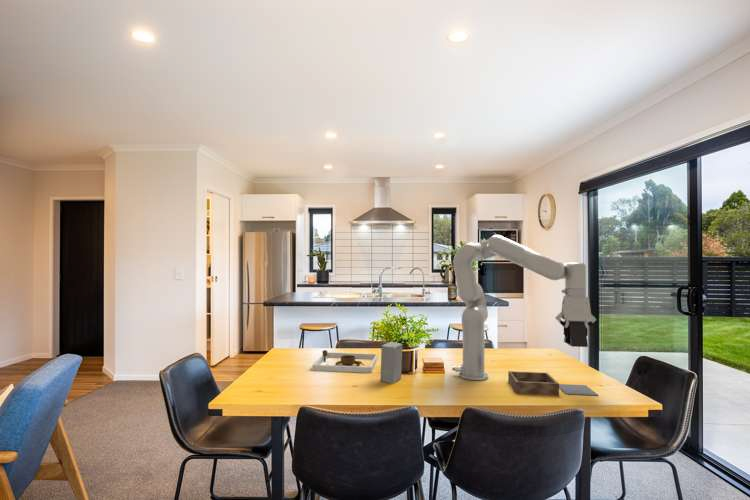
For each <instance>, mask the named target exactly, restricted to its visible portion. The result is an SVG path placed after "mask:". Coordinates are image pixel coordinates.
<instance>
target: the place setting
mask: <svg viewBox="0 0 750 500" xmlns="http://www.w3.org/2000/svg"><path fill="white" fill-rule="evenodd" d="M327 352H328V350H322V355H323V356H324V361H323V362H324V363H326V362H327V358H326V357H325V356H327ZM335 365H337V366H341V365H342V366H360V365H363V366H365V363H363V362H362V361H360V360H356V359H355V356H352V355H344V356H341V358H340V360H338V361H336V362H335Z"/></svg>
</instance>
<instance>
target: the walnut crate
mask: <svg viewBox="0 0 750 500" xmlns="http://www.w3.org/2000/svg"><path fill="white" fill-rule="evenodd" d="M507 373H508V375H507V376H508V380H507V382H508V384H509V385H510V386H511V388H512V389H513V391H514V392H515V394H517V393H518V395H519V394H521V395H538V394H540V396H542V395H543V396H560V388H559V384H560V383H559V381H557V380H556V379H555V378H553V376H551V375H550V374H549V372H537V371H534V372H533V371H511V370H510V371H508V372H507Z"/></svg>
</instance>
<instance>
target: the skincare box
mask: <svg viewBox="0 0 750 500" xmlns="http://www.w3.org/2000/svg"><path fill="white" fill-rule="evenodd" d="M402 361H403V343H399V342H395V341H389V342H387V343H385V344H381V352H380V382H383V383H387V384H392V385H393V384H395V383H397V382H398V381H400V380H402V370H403V369H402V368H403V367H402V364H403V362H402Z"/></svg>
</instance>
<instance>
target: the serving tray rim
mask: <svg viewBox="0 0 750 500" xmlns="http://www.w3.org/2000/svg"><path fill="white" fill-rule="evenodd" d="M344 355H352V356H355V360H356V359H357V360H358V359H359V360H361V359H362V360H363V359H364V360H372V361H371V363H370V365H369V366H360V365H359V366H355V365H352V366H344V365H340V366H337V365H336V364H335V365H333V364H331V365H330V364H323V362H324V356H323V354H322V355H321V356H320V357H319V358H318V359H317V360H316V361H314V363H313V364H312V371H317V372H340V373H342V372H343V373H361V374H364V373H366V374H367V373H368V374H370V373H371V374H372V373H373V370H374V369H375V366H376V364H377V362H378V359H379V354H377V353H360V352H359V353H356V352H334V351H333V352H330V351H329V352H328V351H327V356H325V357H326V359H327V358H331V359H333V358H334V359H341V356H344Z"/></svg>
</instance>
